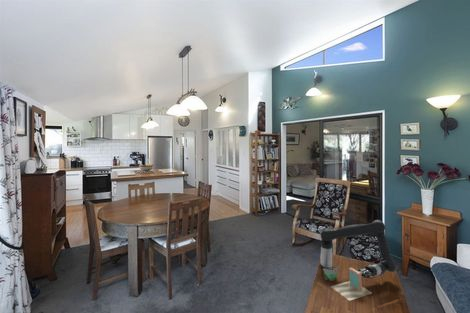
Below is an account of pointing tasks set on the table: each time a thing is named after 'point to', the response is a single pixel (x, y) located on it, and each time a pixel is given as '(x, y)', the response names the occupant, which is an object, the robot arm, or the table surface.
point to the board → (350, 291)
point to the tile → (355, 279)
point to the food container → (330, 273)
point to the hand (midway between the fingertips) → (356, 275)
